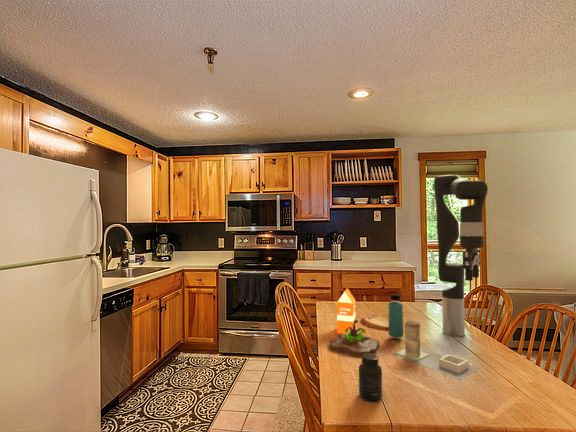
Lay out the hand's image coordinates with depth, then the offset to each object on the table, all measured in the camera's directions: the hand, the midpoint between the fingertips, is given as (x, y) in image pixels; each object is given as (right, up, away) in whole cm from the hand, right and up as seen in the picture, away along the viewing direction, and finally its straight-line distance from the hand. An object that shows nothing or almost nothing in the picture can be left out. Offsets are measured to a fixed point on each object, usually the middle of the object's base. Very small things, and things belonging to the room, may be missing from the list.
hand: (472, 278), depth 117 cm
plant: (-39, -33, +19) cm, 55 cm away
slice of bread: (-20, -34, +48) cm, 62 cm away
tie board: (-13, -32, +2) cm, 35 cm away
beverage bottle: (-19, -33, +28) cm, 47 cm away
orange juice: (-39, -33, +39) cm, 64 cm away
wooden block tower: (-19, -31, +8) cm, 37 cm away
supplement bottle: (-43, -32, -21) cm, 57 cm away
